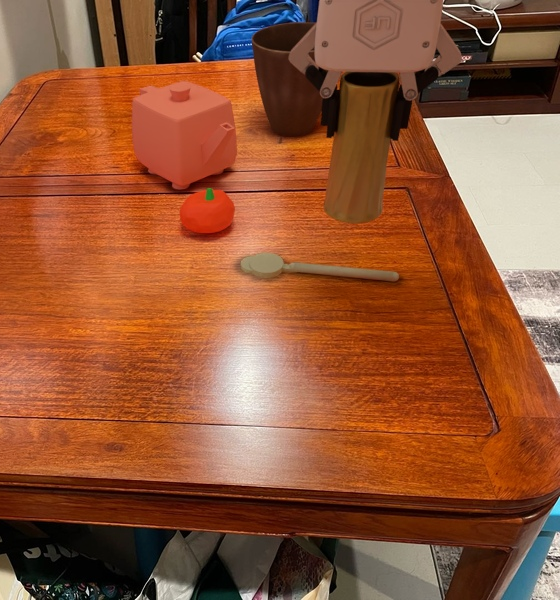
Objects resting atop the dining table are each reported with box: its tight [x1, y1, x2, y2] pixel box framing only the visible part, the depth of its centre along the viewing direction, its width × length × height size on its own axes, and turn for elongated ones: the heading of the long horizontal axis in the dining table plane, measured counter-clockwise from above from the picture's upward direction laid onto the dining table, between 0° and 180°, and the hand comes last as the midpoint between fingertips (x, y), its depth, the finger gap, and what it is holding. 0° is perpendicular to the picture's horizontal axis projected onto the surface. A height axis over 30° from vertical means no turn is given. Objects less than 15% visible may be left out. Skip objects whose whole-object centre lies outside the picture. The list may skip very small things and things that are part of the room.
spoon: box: [240, 252, 400, 282], centre depth 78 cm, size 19×4×1 cm, turn 74°
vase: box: [322, 72, 400, 225], centre depth 62 cm, size 6×6×14 cm
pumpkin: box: [179, 187, 236, 234], centre depth 86 cm, size 7×8×6 cm
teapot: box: [131, 80, 238, 190], centre depth 97 cm, size 22×13×14 cm, turn 35°
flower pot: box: [251, 21, 326, 138], centre depth 106 cm, size 15×15×16 cm
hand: (362, 131), depth 61 cm, fingers closed on vase, 5 cm apart
